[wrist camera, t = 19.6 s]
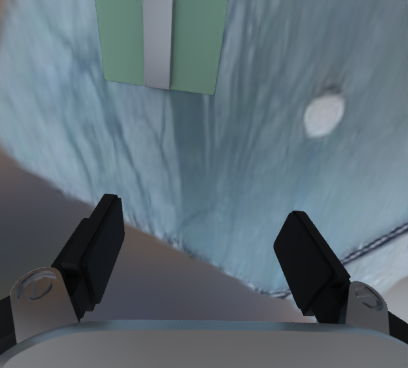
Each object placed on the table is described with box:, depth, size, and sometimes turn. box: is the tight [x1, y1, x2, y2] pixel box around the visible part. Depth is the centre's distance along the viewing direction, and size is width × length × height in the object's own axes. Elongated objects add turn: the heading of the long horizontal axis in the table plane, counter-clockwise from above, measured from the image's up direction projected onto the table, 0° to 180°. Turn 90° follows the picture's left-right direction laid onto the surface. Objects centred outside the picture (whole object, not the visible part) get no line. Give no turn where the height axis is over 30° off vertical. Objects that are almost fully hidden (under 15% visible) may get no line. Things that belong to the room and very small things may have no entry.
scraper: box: [143, 0, 176, 90], centre depth 23 cm, size 14×14×5 cm
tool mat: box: [95, 0, 228, 95], centre depth 25 cm, size 16×18×1 cm
